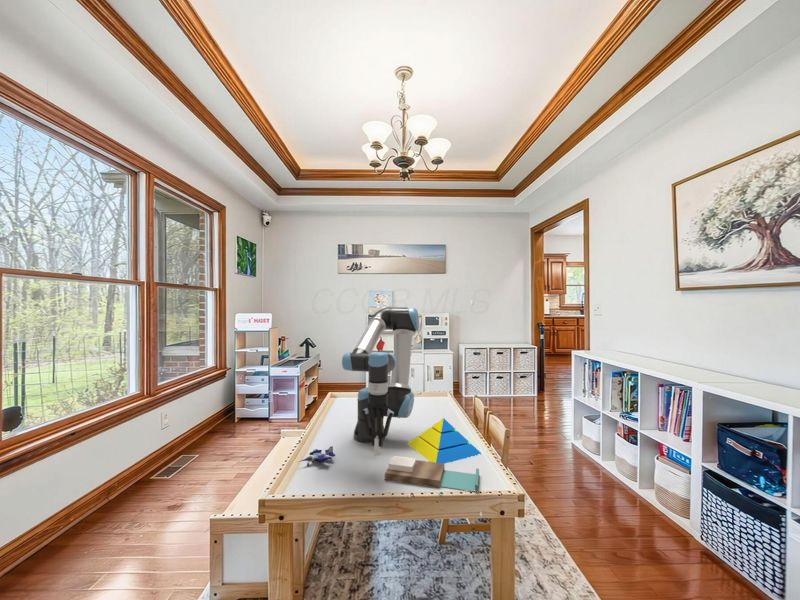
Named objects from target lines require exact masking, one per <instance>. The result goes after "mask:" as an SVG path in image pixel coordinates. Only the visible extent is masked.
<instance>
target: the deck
mask: <svg viewBox="0 0 800 600" xmlns="http://www.w3.org/2000/svg"><path fill="white" fill-rule="evenodd" d="M444 470H445V464H443V463H435V462H430V461H428V460H427V461H426V460H419V459H418V460H417V459H416V465H415V468H414V470H413V472H405V471H397V470H390V469H389V466H388V467H387V469H386V470H385V472H384V481H390V482H398V483H403V484H404V483H405V484H412V485H418V486H419V485H420V486H425V487H433V488H437V489H438V488H439V489H440V488H441V487H440V484H441V480H442V477H443V473H444Z"/></svg>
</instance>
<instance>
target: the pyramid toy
mask: <svg viewBox="0 0 800 600" xmlns="http://www.w3.org/2000/svg"><path fill="white" fill-rule="evenodd" d="M407 445H408V446H410V447H411V449H413V450H414V451H416V452H417V453H418V454H420V455H421V456H422V457H423V458H424V459H426V460H427V461H428V462H435V463H443V464H444V465H445V464H448V463H451V462H457V461H459V460H464V459H465V460H466V459H468V458H467V457H469V458H472V457H471V456H473V457H476V456H479V455H478V454H480V455H482V454H481V453H482V452H481V451H480V450H478V448H477V447H475V445H473V444H472V443H470V441H469V440H468V439H467V438H465V436H464V435H462V434H461V432H459V431H458V430H456V428H455V427H454V426H453V425H452V424H451V423H450V422H449V421H447V419H445V417H442V418H441V419H440V420H438V421H437V422H436V423H434V424H433V425H431V427H428V428H427V429H425V430H424V431H423V432H421V433H420V434H418V436H416V437H414V438H413V439H412V440H410V441H409V442H407ZM475 455H476V456H475Z"/></svg>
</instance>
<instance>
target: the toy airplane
mask: <svg viewBox="0 0 800 600" xmlns="http://www.w3.org/2000/svg"><path fill="white" fill-rule="evenodd" d="M333 451H334V447H333V446H332V445H331V446H330V447H329V448H328V449H324V452H325V453H323V450H322V449H318V448H317V449H316V448H315V449H313V450H312V451H311V452H309V453H308V456H306V457H305V458H304V459H302V460H299V461H298V463H300V462H306V461H307V464H306V466H307V467H308V466H310V462H312V463H314V462H318V463H330V462H331V460H332V457H333V458H334V457H336V454H335V452H333Z"/></svg>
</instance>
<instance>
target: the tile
mask: <svg viewBox="0 0 800 600" xmlns="http://www.w3.org/2000/svg"><path fill="white" fill-rule="evenodd" d="M416 460H417V458H414V457H405V456H400V455H399V456H397V455H393V457H392V458H391V459H390V461H389V462H388V467H389V469H390V470H397V471H405V472H413V470H414V468H415V465H416Z"/></svg>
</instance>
